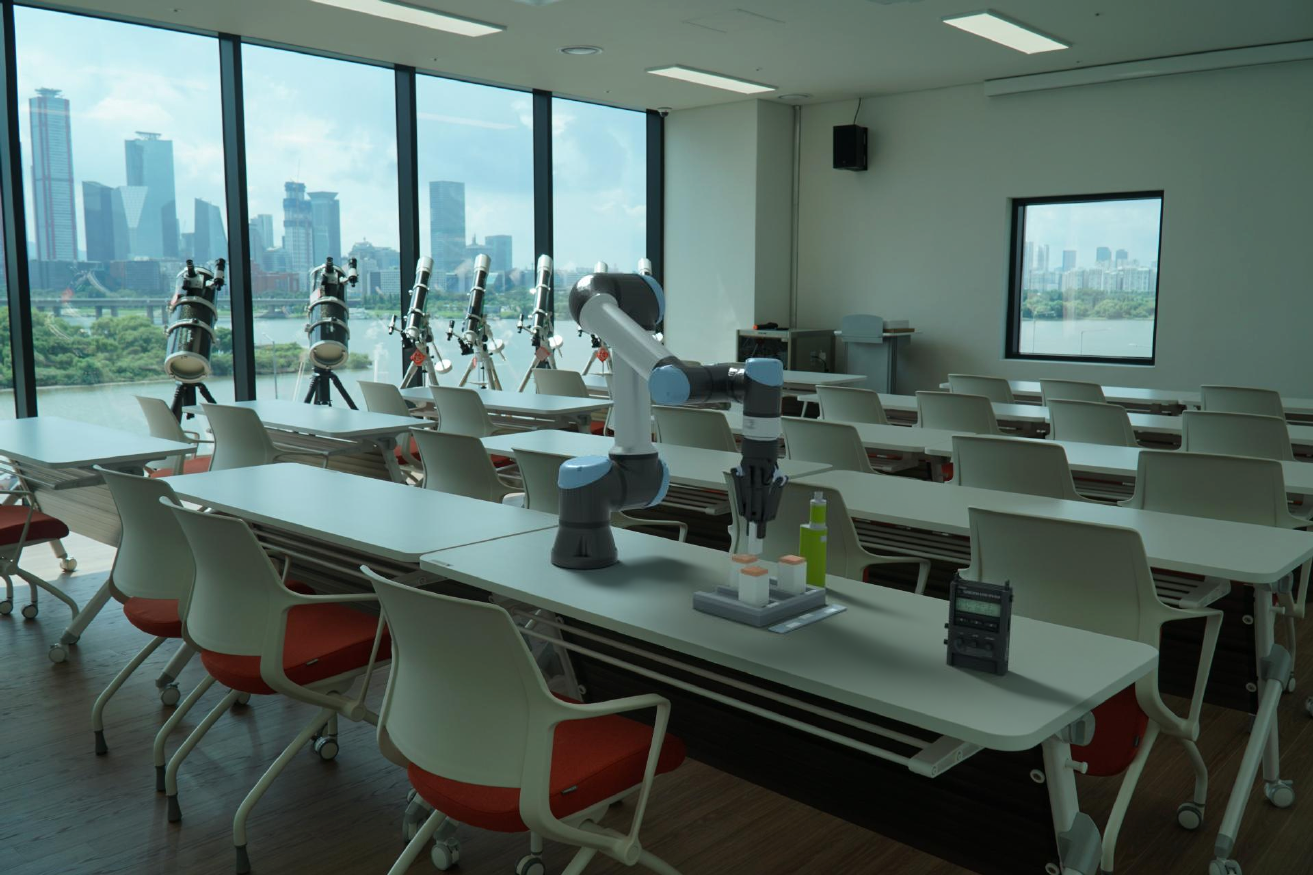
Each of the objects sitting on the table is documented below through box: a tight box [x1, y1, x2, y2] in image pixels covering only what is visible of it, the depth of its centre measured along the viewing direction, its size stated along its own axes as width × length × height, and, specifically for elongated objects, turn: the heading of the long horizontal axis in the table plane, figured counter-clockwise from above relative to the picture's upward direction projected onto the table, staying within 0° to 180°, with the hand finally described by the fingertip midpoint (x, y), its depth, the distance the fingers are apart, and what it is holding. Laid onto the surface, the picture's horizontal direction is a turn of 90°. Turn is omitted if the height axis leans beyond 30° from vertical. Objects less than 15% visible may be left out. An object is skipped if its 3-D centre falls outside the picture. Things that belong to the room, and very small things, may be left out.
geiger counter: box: [943, 571, 1015, 677], centre depth 160 cm, size 10×4×15 cm, turn 56°
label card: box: [768, 603, 848, 634], centre depth 185 cm, size 3×21×1 cm, turn 137°
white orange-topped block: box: [776, 554, 807, 594], centre depth 195 cm, size 4×4×7 cm
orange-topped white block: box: [729, 553, 760, 590], centre depth 195 cm, size 4×4×7 cm
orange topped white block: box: [739, 566, 770, 607], centre depth 186 cm, size 4×4×7 cm
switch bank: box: [692, 574, 827, 628], centre depth 193 cm, size 16×21×3 cm
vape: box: [798, 491, 828, 589], centre depth 206 cm, size 4×6×20 cm, turn 37°
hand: (755, 553), depth 200 cm, fingers closed
